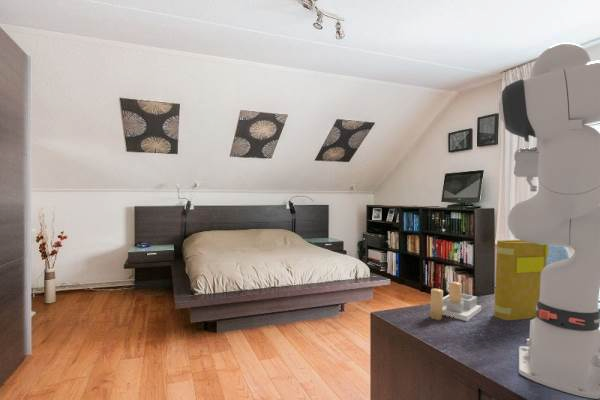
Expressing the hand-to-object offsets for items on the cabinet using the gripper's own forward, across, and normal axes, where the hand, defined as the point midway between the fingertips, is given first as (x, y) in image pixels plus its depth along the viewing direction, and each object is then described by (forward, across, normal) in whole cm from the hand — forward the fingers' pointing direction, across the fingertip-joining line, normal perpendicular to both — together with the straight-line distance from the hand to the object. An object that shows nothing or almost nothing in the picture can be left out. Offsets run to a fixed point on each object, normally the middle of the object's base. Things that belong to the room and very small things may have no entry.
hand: (551, 191), depth 106 cm
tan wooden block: (+42, -26, -17) cm, 52 cm away
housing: (+42, -24, -5) cm, 48 cm away
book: (+42, -9, +6) cm, 43 cm away
